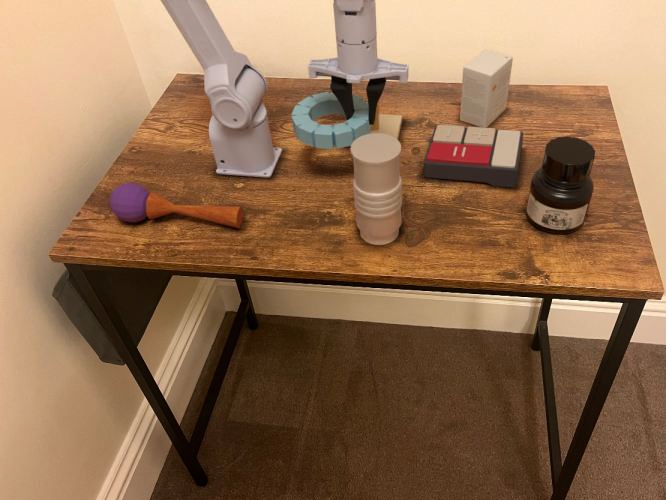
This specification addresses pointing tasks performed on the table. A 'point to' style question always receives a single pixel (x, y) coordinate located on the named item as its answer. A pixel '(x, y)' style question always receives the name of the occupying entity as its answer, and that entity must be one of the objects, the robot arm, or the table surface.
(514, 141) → the button keypad
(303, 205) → the table surface
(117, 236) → the table surface
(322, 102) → the ring
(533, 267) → the table surface
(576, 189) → the ink bottle
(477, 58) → the small box
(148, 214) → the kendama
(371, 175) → the ribbed beige cylinder
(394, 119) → the peg stand
